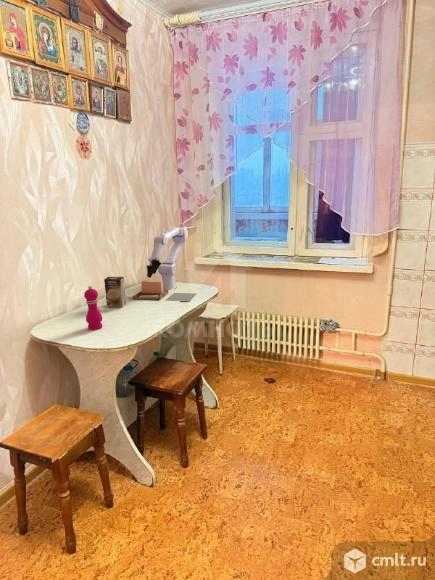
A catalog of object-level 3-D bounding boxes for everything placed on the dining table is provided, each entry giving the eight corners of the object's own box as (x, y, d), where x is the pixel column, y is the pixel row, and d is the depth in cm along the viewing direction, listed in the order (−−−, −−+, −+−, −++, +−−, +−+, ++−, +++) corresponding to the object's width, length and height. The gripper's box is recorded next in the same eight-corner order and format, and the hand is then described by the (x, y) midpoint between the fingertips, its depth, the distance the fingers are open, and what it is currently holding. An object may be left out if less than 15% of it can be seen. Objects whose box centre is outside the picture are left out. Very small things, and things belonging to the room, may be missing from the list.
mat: (174, 293, 235) (174, 292, 235) (196, 294, 232) (196, 293, 232) (164, 301, 220) (164, 300, 220) (189, 302, 217) (189, 301, 217)
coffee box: (106, 308, 211) (103, 279, 207) (110, 305, 217) (107, 276, 213) (123, 308, 210) (120, 279, 206) (127, 304, 216) (124, 276, 212)
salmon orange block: (144, 294, 235) (143, 280, 233) (163, 295, 233) (162, 280, 230) (142, 296, 232) (141, 281, 230) (161, 297, 229) (160, 281, 227)
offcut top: (142, 297, 228) (141, 295, 228) (158, 297, 226) (158, 295, 226) (139, 298, 225) (139, 296, 224) (156, 299, 223) (155, 297, 222)
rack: (143, 293, 238) (142, 289, 237) (168, 294, 234) (168, 290, 234) (133, 300, 224) (132, 296, 223) (159, 301, 221) (159, 297, 220)
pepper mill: (88, 331, 178) (82, 288, 173) (86, 326, 184) (80, 285, 179) (104, 328, 181) (99, 286, 175) (102, 324, 187) (97, 283, 182)
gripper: (146, 255, 235) (140, 276, 230) (154, 247, 222) (148, 269, 218) (157, 260, 237) (152, 280, 232) (166, 252, 225) (160, 273, 220)
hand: (150, 275), depth 225 cm, fingers open, 7 cm apart
